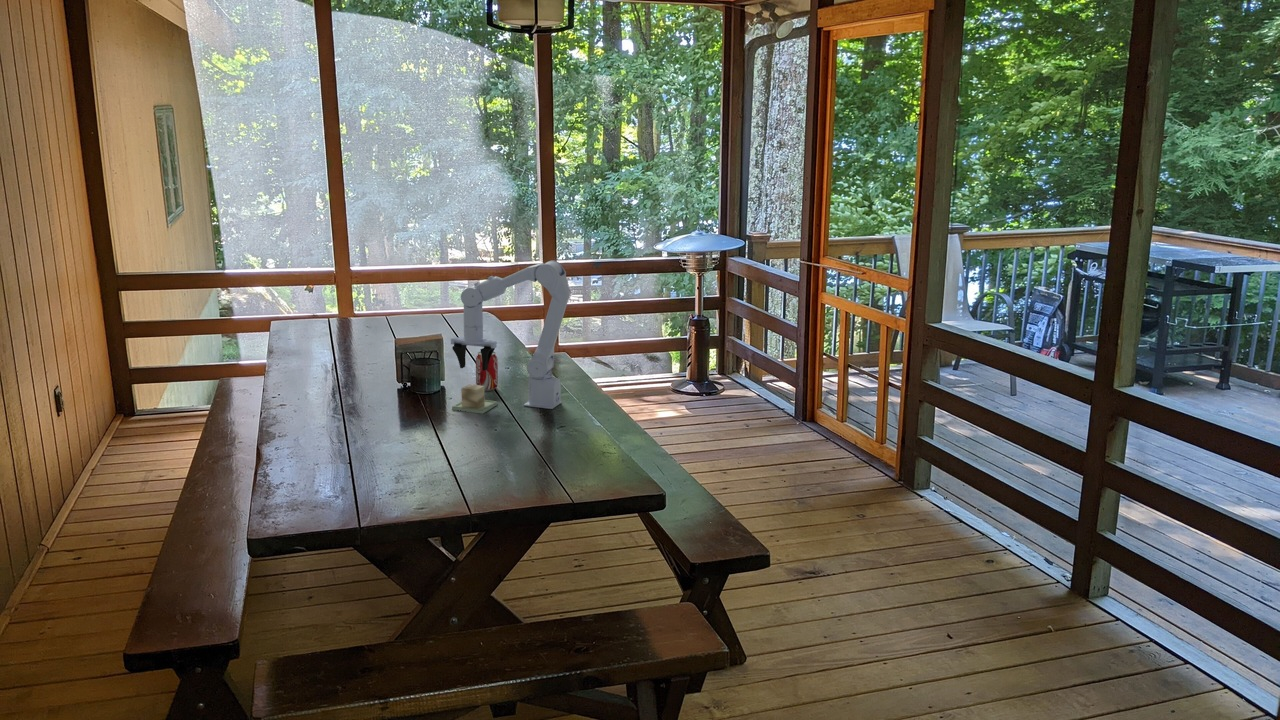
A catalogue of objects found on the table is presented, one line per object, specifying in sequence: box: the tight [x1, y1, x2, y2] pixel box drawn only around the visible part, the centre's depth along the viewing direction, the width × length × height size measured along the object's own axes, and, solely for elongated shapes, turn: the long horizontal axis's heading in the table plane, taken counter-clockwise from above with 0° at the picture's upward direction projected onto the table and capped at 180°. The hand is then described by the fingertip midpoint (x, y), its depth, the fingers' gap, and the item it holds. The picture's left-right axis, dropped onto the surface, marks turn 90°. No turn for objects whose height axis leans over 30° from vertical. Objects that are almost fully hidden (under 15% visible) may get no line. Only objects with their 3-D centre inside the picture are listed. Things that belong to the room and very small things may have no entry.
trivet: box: [451, 399, 498, 415], centre depth 281 cm, size 10×10×1 cm
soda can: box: [475, 351, 499, 392], centre depth 300 cm, size 7×7×12 cm
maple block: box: [460, 383, 486, 409], centre depth 278 cm, size 5×5×6 cm
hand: (473, 368), depth 287 cm, fingers open, 7 cm apart
